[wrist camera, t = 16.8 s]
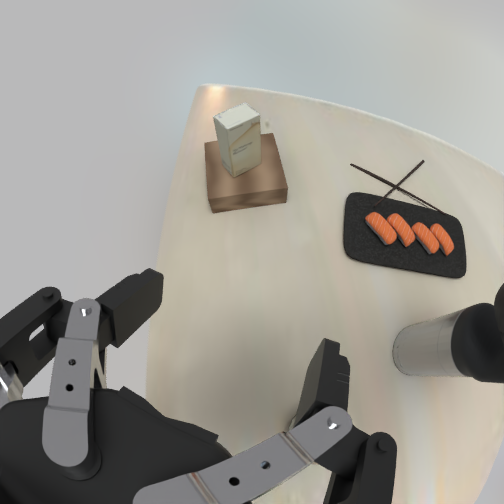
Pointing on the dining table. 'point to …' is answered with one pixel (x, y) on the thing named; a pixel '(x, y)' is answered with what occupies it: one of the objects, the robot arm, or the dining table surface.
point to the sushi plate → (403, 233)
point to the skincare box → (239, 138)
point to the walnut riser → (245, 179)
